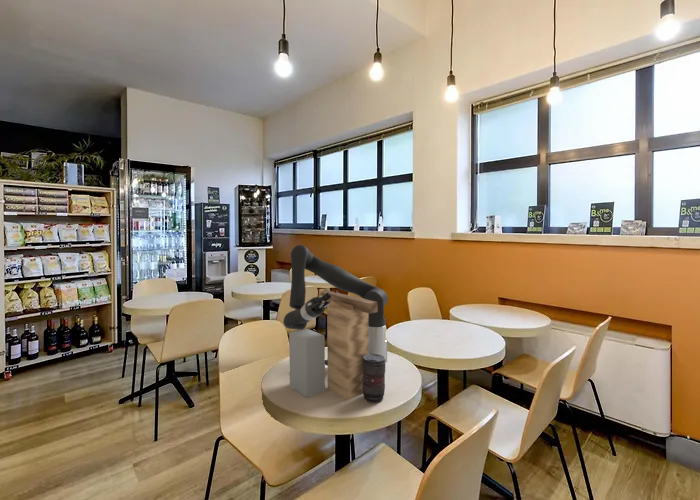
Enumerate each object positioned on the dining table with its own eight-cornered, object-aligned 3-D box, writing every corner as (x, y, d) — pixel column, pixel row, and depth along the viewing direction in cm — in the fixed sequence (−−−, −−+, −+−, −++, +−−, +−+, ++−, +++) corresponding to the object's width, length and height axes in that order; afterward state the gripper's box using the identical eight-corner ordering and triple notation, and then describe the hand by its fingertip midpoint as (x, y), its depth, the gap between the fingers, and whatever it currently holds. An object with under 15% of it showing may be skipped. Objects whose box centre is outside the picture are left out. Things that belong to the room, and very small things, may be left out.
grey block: (307, 380, 138) (306, 328, 136) (325, 390, 129) (324, 335, 127) (289, 385, 133) (289, 332, 131) (306, 397, 123) (306, 340, 122)
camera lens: (384, 405, 118) (384, 362, 117) (360, 402, 120) (360, 360, 119) (386, 394, 126) (386, 354, 125) (364, 392, 127) (364, 352, 127)
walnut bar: (326, 298, 141) (326, 287, 141) (378, 311, 118) (378, 299, 118) (318, 299, 138) (318, 289, 138) (369, 313, 115) (369, 300, 115)
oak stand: (348, 380, 137) (347, 297, 135) (368, 391, 128) (368, 302, 126) (327, 388, 131) (327, 301, 129) (347, 400, 121) (347, 306, 119)
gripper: (295, 303, 142) (315, 287, 130) (323, 298, 151) (344, 283, 139) (300, 320, 140) (321, 305, 128) (328, 314, 149) (350, 300, 137)
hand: (333, 294), depth 134 cm, fingers closed on walnut bar, 3 cm apart
